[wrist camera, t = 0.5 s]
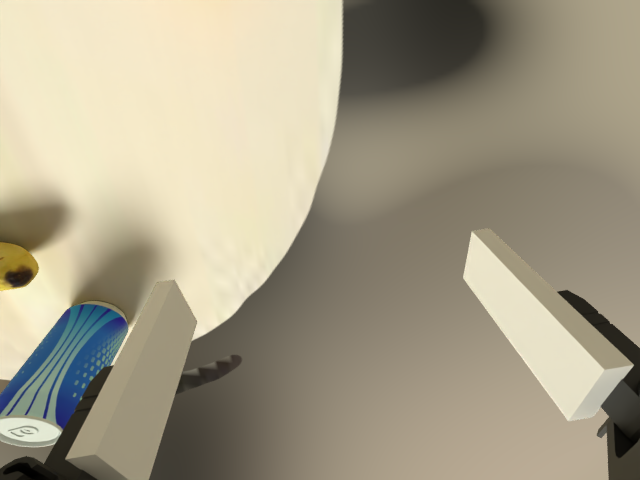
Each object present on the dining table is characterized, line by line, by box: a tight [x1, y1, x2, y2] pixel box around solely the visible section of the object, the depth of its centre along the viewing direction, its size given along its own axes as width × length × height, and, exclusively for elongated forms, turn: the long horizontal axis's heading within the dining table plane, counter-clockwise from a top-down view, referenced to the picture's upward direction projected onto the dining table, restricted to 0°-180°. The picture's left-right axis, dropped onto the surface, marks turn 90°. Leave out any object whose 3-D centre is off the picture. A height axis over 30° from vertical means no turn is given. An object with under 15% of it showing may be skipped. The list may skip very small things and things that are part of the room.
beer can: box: [0, 301, 128, 447], centre depth 39 cm, size 8×8×16 cm
